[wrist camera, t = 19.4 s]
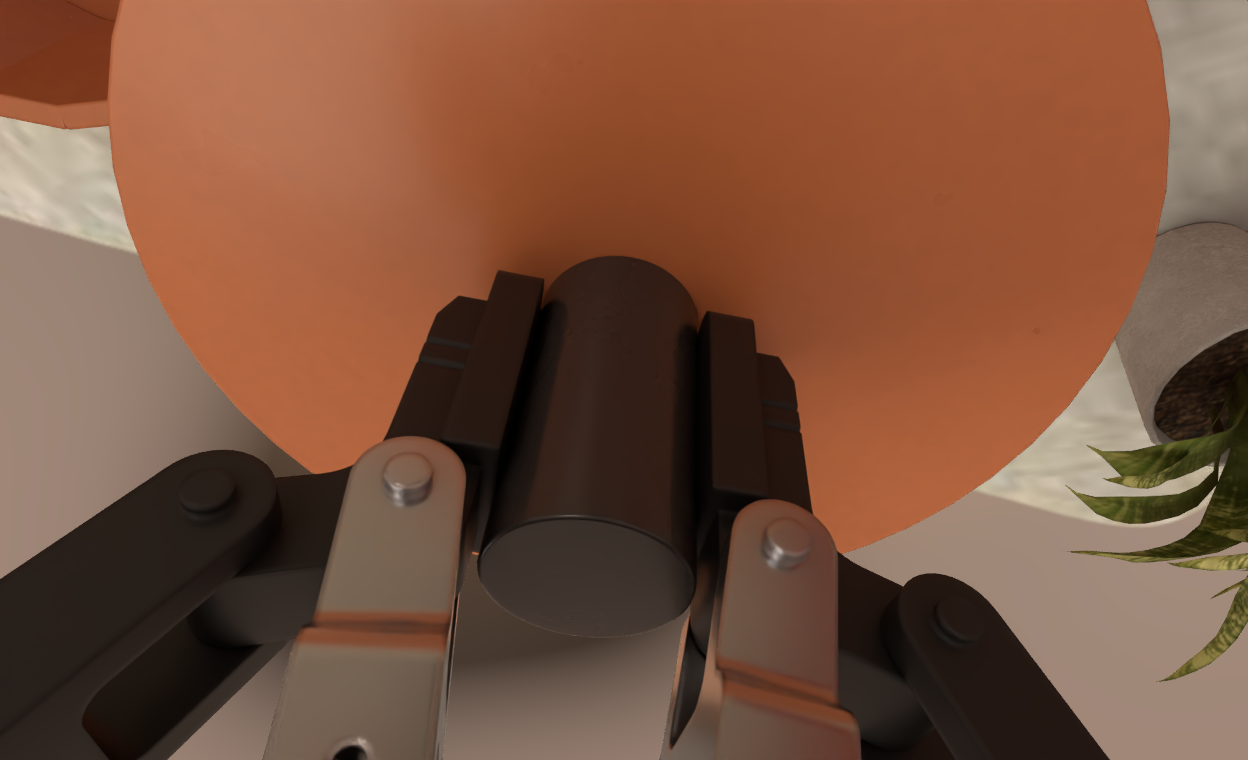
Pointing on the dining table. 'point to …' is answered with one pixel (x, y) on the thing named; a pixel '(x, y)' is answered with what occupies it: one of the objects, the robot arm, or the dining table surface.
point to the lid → (649, 238)
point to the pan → (56, 61)
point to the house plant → (1190, 406)
